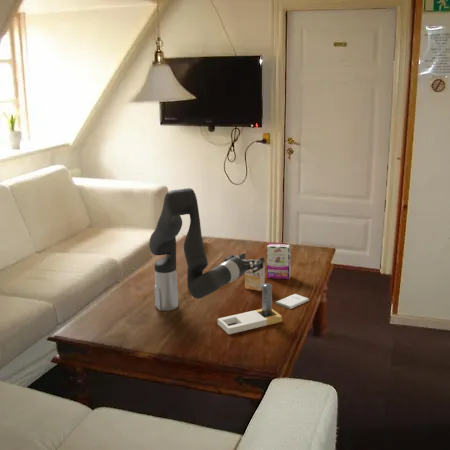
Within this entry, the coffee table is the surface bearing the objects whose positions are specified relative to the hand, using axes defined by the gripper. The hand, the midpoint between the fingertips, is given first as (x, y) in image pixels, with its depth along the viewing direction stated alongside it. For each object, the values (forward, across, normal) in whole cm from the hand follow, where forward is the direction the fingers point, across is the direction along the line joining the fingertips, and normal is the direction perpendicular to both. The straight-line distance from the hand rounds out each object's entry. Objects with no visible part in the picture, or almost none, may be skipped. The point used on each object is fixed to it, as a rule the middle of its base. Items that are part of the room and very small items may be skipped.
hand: (253, 257), depth 222 cm
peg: (+10, 0, +30) cm, 31 cm away
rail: (+3, +4, +30) cm, 30 cm away
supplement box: (+35, +21, +30) cm, 51 cm away
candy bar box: (+53, +19, +30) cm, 64 cm away
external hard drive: (+30, -1, +31) cm, 43 cm away
